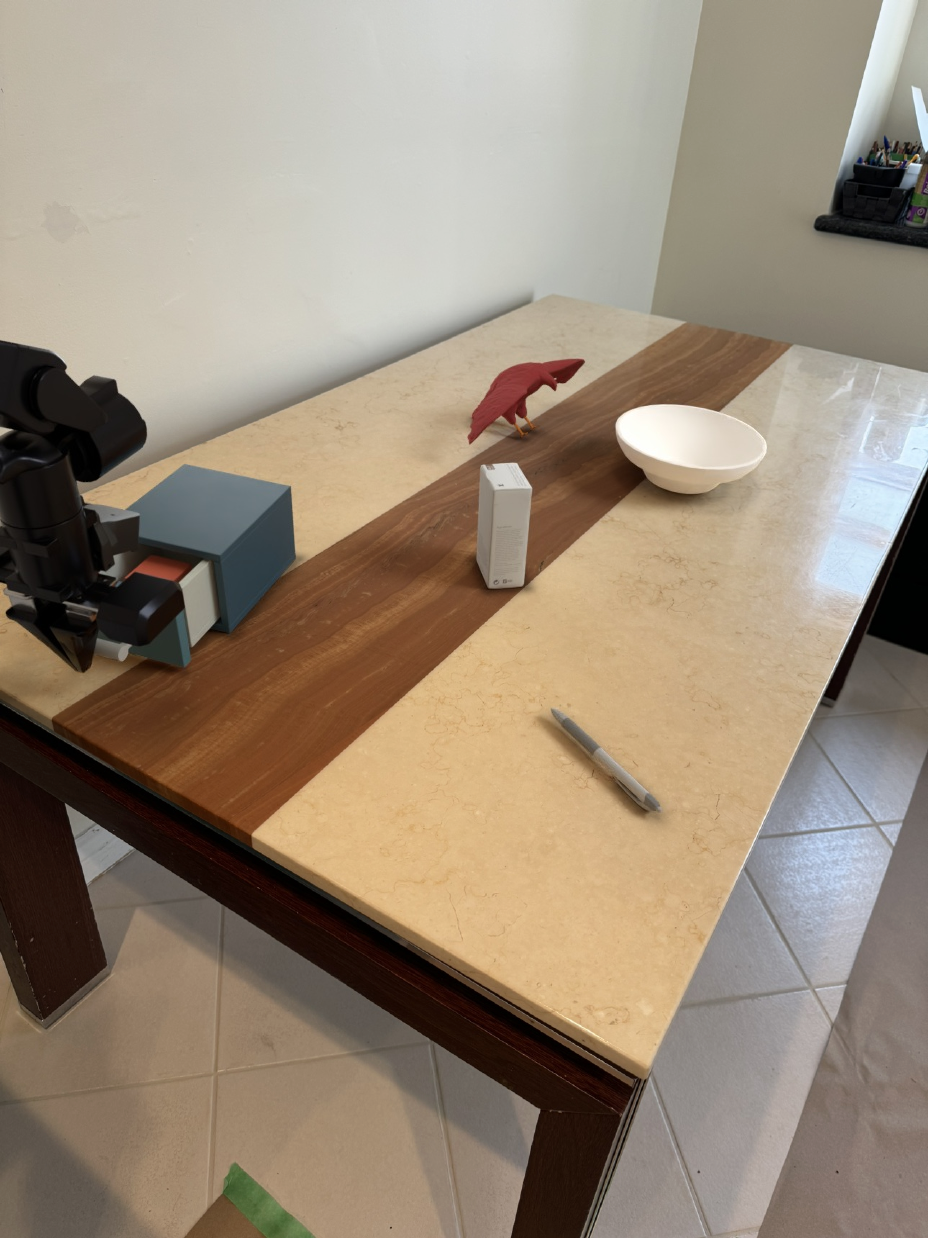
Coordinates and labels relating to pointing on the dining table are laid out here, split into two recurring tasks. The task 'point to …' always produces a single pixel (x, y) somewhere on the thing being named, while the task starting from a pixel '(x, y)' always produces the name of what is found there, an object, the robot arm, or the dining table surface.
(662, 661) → the dining table surface
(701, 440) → the bowl
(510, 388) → the decorative bird sculpture
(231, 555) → the cabinet
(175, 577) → the terracotta rounded cube
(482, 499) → the cosmetic box
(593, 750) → the pen
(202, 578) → the open handled drawer
